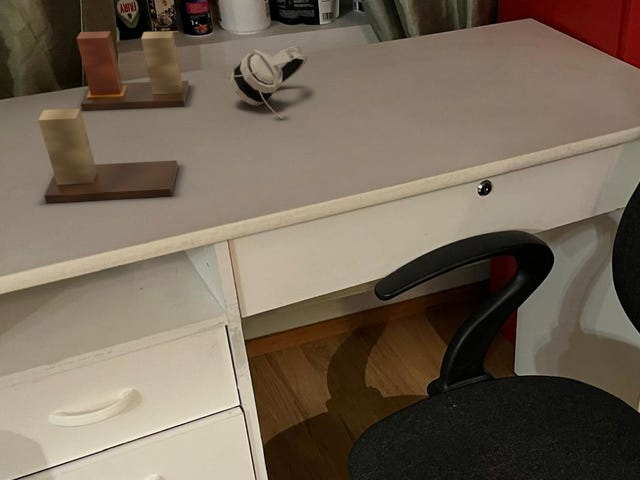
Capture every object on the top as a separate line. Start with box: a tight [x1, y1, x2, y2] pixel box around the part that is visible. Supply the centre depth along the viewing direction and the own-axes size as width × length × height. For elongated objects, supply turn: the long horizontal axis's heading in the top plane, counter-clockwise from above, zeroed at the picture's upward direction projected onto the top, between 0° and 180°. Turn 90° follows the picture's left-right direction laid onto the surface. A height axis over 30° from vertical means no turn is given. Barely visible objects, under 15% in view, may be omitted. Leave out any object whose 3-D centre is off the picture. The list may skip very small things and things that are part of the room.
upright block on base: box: [80, 30, 190, 111], centre depth 124 cm, size 14×8×9 cm, turn 100°
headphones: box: [223, 45, 308, 120], centre depth 122 cm, size 8×10×20 cm
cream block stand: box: [37, 108, 179, 204], centre depth 101 cm, size 14×8×9 cm, turn 100°
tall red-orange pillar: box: [76, 30, 123, 95], centre depth 123 cm, size 4×3×8 cm
